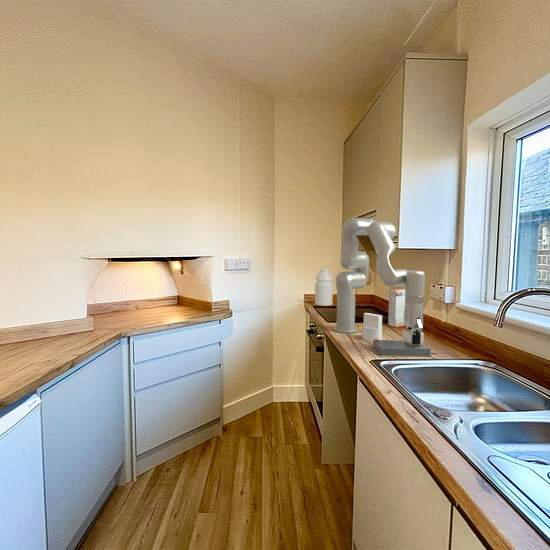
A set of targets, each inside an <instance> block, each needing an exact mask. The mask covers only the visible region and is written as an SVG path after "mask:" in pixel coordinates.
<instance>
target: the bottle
mask: <svg viewBox="0 0 550 550" xmlns="http://www.w3.org/2000/svg"><path fill="white" fill-rule="evenodd" d="M329 270H330V269H329V268H320V270H319V271H320V272H318V273H317V275H316V278H315V280H316V282H315V283H314V305H316V306H319V307H320V306H322V307H326V306H327V307H328V306H333V300H334V298H333V297H334V296H333V295H334V294H333V292H334V283H333V279H334V278H333V276H332V274H331V273H330V271H329Z"/></svg>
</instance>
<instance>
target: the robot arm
mask: <svg viewBox="0 0 550 550" xmlns="http://www.w3.org/2000/svg"><path fill="white" fill-rule="evenodd" d="M396 233H397V230H396V227H395V225H394V224H393V223H391V222H388V221H382V220H378V219H374V218H373V219H371V218H365V217H364V218H363V217H351V218H349V219H347V220H346V221H345V222H344V223H343V225H342V228H341V239H342V240H341V241H342V242H341V253H340V266H341V268H342V269H346V270H347V271H341V272H339V273H337V275H336V277H335V287H336V325H335V326H334V327H333V329H334V330H335V332H336V331H337V333H341V332H342V333H343V334H353V333H354V332H355V333H357V332H358V328H357V327H355V324H356V322H355V321H356V295H355V293H354V291H353V290H356V289H357V290H358V289H362V288H364V287H366V285H367V283H368V277H369V269H370V258H369V256H368V254H367V253H366V252H365V251H363V250H359V245H360V244H359V243H360V241H359V239H358V237H357V236H368V237H369V240H370V242H371V244H372V246H373V248H374V250H375V252H376V253H377V258H376V271H377V273H378V275H379V277H380V280H381V281H382V283H384V285H385V286H387V287H390V288H395V287H399V288H401V287H405V288H404V289H405V309H404V320H403V322H404V324H405V325H406V326H405V330H413V334H412V344H420V338H421V332H422V331H423V327H424V307H423V305H425V289H426V288H425V286H426V285H425V284H426V273H425V272H424V271H421V270H409V269H405V268H404V269H403V268H402V269H401V268H399V269H397V268H396V269H394V268H393V267H392V265H391V262H390V259H389V257H390V256H391V255H392V254H393V253H394V252H395V251H396V249H397V248H396V245H395V243H394V242H393V239H394V238H395V236H396ZM350 270H351V271H350ZM333 329H332V330H333ZM334 330H333V331H334ZM415 330H416V331H415Z"/></svg>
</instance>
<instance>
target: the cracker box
mask: <svg viewBox="0 0 550 550" xmlns="http://www.w3.org/2000/svg"><path fill="white" fill-rule="evenodd" d="M404 309H405V288H400V289H399V288H398V289H389V290H388V318H387V319H388V320H387V321H388V327H392V328H395V329H396V328H402V327H406V325H405V324H404V322H403V320H404Z"/></svg>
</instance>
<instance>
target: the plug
mask: <svg viewBox="0 0 550 550" xmlns="http://www.w3.org/2000/svg"><path fill="white" fill-rule="evenodd" d="M415 331H416V329H415ZM412 334H413V330H406V329H402V340H405V341H407V345H408V346H419V344H412ZM424 339H425V333H424V332H422V331H421V338H420V343H423V344H424V341H425V340H424Z"/></svg>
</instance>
